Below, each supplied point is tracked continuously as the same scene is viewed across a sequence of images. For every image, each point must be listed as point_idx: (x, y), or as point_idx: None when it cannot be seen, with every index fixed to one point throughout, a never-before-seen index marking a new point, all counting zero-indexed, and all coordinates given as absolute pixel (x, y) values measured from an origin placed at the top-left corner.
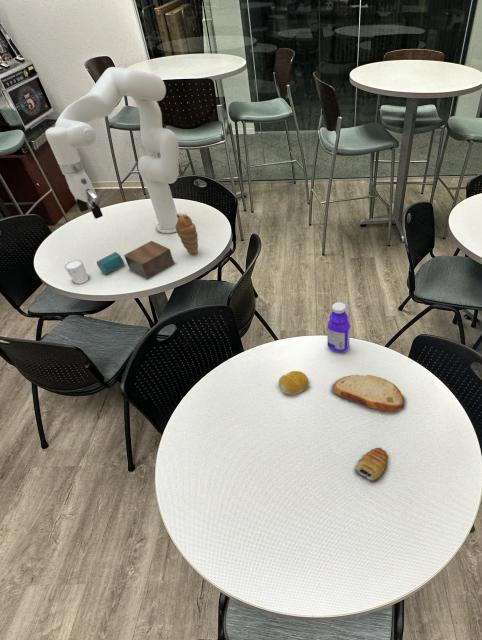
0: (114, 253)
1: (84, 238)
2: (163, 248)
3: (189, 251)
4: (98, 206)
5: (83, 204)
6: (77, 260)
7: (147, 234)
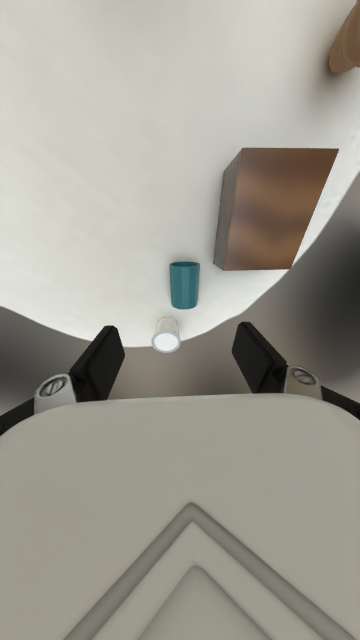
0: (185, 272)
1: (7, 245)
2: (314, 162)
3: (352, 67)
4: (282, 362)
5: (107, 363)
6: (158, 333)
7: (83, 62)
